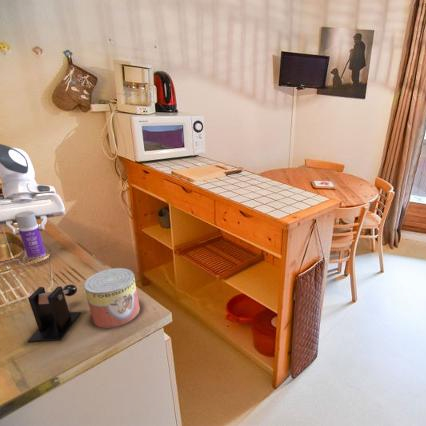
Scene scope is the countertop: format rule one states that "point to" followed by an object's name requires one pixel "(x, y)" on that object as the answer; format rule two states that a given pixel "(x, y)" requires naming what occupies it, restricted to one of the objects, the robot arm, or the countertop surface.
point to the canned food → (112, 297)
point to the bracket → (51, 316)
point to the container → (30, 234)
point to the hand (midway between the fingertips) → (30, 232)
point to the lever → (67, 290)
